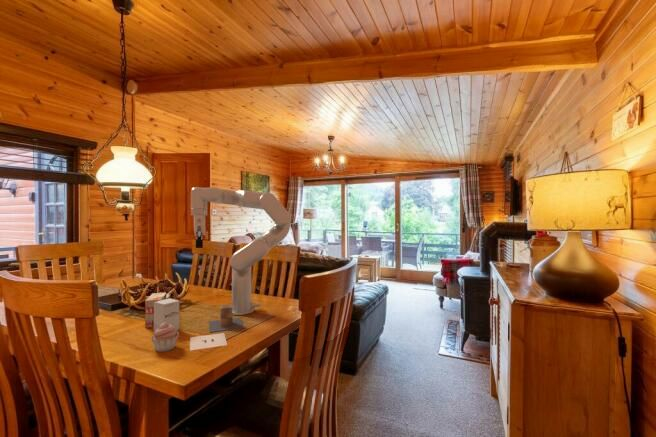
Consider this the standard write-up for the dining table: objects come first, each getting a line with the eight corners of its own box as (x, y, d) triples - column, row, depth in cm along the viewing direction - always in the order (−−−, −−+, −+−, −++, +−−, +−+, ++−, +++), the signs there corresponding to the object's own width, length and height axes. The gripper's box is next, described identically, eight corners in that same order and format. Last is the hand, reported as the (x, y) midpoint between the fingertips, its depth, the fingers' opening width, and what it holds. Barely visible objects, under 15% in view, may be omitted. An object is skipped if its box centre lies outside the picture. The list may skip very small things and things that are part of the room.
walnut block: (231, 321, 145) (231, 304, 145) (232, 325, 140) (232, 307, 140) (219, 323, 143) (219, 305, 143) (220, 326, 138) (220, 308, 138)
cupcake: (175, 353, 113) (175, 325, 113) (147, 355, 112) (147, 327, 111) (182, 342, 123) (182, 317, 122) (155, 344, 121) (155, 318, 120)
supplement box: (163, 335, 130) (163, 304, 130) (153, 331, 134) (153, 301, 134) (179, 329, 136) (179, 300, 136) (169, 326, 140) (169, 297, 140)
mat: (240, 318, 151) (240, 317, 151) (244, 328, 138) (244, 327, 138) (208, 322, 145) (208, 321, 145) (210, 333, 132) (210, 331, 132)
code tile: (224, 333, 132) (224, 332, 132) (227, 345, 120) (227, 344, 120) (190, 337, 127) (190, 337, 127) (189, 350, 115) (189, 350, 115)
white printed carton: (157, 313, 159) (156, 288, 158) (170, 312, 160) (170, 287, 160) (145, 328, 138) (144, 300, 138) (160, 326, 140) (160, 299, 140)
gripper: (207, 212, 150) (207, 248, 151) (206, 212, 166) (206, 245, 167) (190, 212, 147) (190, 249, 148) (191, 212, 163) (191, 245, 164)
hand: (199, 247), depth 157 cm, fingers open, 9 cm apart
